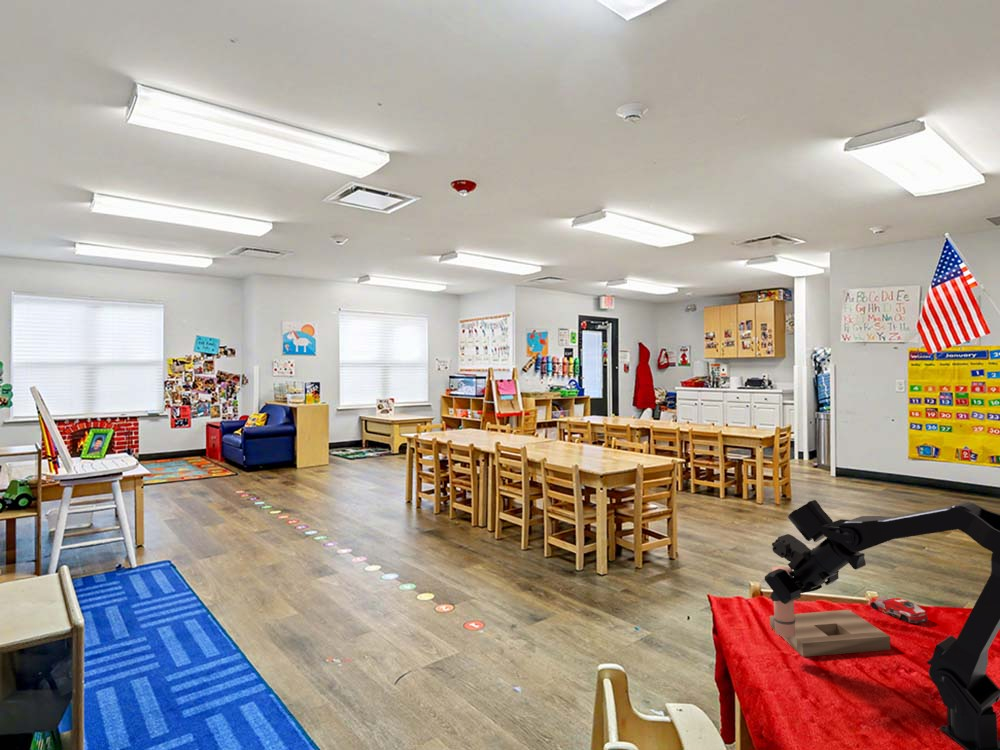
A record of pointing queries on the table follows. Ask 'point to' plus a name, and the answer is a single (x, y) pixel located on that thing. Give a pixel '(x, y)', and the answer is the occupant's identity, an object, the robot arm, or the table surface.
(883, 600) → the race car
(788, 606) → the peg
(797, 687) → the table surface
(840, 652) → the board
